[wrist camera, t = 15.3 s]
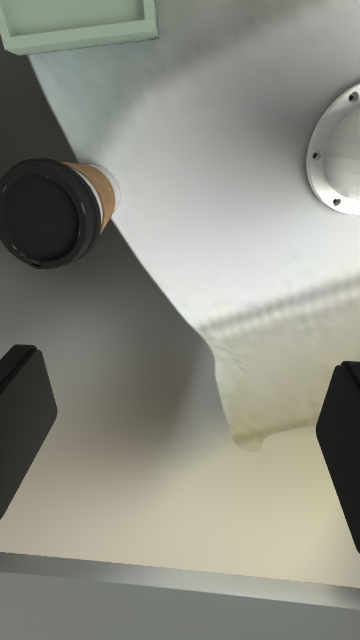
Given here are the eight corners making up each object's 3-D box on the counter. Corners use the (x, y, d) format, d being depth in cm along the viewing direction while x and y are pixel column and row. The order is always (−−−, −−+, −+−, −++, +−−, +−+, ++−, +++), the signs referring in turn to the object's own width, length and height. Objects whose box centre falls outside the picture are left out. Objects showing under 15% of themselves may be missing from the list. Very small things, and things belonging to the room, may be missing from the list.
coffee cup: (58, 217, 39) (-15, 258, 26) (62, 141, 35) (-22, 144, 22) (124, 236, 39) (85, 284, 26) (137, 163, 35) (98, 179, 22)
